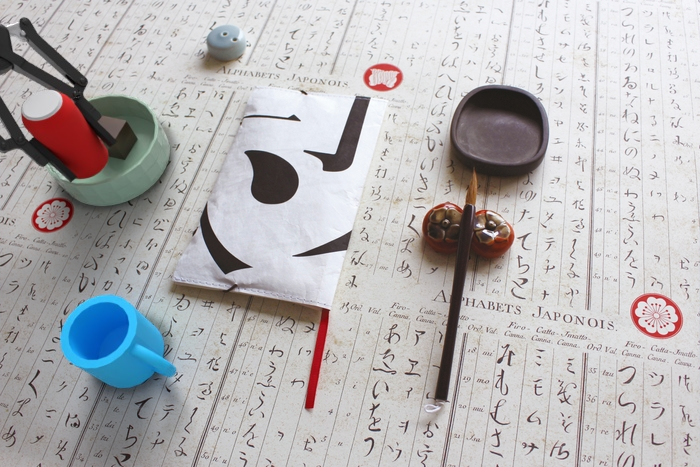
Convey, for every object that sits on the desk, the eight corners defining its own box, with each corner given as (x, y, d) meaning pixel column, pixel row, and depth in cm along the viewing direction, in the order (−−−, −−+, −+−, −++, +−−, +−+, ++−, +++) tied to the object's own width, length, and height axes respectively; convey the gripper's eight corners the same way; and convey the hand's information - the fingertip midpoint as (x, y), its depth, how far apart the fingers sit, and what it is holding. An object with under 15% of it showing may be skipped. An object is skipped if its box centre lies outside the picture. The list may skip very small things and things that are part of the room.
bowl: (111, 226, 75) (94, 206, 71) (38, 171, 80) (18, 150, 76) (192, 147, 81) (181, 125, 76) (119, 102, 86) (105, 78, 82)
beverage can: (87, 140, 77) (40, 77, 67) (121, 156, 76) (78, 94, 65) (57, 173, 75) (3, 112, 65) (91, 190, 73) (41, 131, 63)
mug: (81, 370, 65) (44, 349, 58) (123, 310, 69) (92, 283, 62) (165, 414, 62) (136, 397, 55) (204, 349, 66) (181, 325, 59)
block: (125, 160, 79) (112, 142, 76) (100, 154, 80) (87, 137, 77) (138, 138, 81) (126, 120, 78) (114, 133, 82) (101, 115, 78)
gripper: (1, -26, 69) (142, 118, 78) (-139, 68, 62) (33, 215, 71) (0, -53, 62) (154, 108, 71) (-156, 49, 56) (36, 213, 64)
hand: (94, 161), depth 71 cm, fingers closed on beverage can, 6 cm apart
